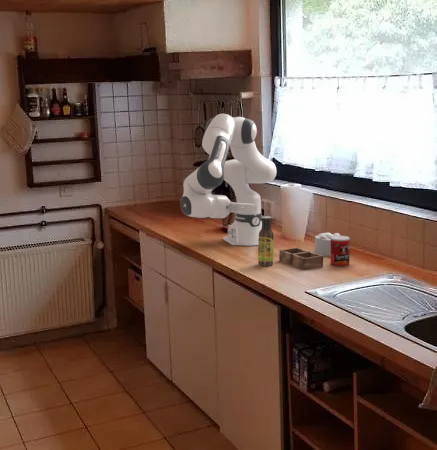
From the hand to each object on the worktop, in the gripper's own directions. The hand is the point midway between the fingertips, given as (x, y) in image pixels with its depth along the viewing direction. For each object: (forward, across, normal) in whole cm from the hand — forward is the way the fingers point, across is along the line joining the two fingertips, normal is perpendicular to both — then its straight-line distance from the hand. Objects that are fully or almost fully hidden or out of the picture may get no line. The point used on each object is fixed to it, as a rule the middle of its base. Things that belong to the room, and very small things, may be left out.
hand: (248, 207), depth 282 cm
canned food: (+36, -15, +21) cm, 45 cm away
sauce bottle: (+12, +2, +23) cm, 27 cm away
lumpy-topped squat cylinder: (+46, +1, +19) cm, 50 cm away
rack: (+24, -5, +22) cm, 33 cm away
